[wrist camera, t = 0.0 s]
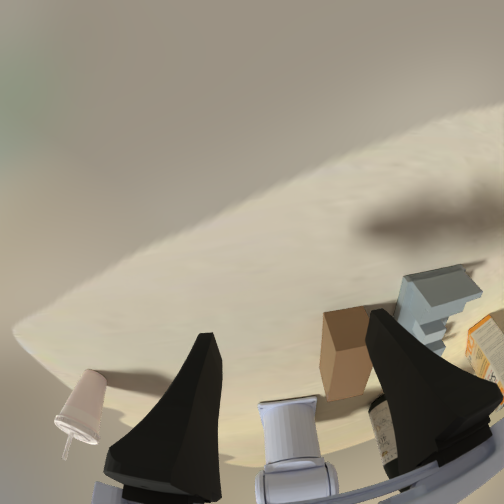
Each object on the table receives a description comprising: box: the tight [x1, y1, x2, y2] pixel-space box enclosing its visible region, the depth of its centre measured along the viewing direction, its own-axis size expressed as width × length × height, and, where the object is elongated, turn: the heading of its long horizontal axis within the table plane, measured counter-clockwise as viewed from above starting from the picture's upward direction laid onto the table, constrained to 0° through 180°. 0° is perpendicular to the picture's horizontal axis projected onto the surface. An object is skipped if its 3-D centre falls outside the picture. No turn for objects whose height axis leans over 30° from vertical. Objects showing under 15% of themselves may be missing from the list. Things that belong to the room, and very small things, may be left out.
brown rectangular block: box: [319, 306, 373, 402], centre depth 25 cm, size 9×4×5 cm, turn 7°
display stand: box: [393, 264, 483, 357], centre depth 24 cm, size 13×8×5 cm, turn 7°
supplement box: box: [466, 315, 504, 412], centre depth 24 cm, size 8×5×13 cm, turn 32°
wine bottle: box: [368, 395, 413, 493], centre depth 23 cm, size 8×8×30 cm
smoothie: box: [54, 369, 107, 460], centre depth 24 cm, size 6×6×14 cm
